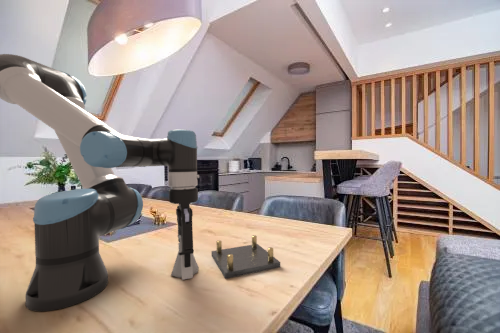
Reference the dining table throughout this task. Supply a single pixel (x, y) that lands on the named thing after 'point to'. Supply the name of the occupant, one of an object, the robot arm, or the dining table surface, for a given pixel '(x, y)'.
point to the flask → (177, 266)
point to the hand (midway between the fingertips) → (185, 271)
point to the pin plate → (244, 259)
